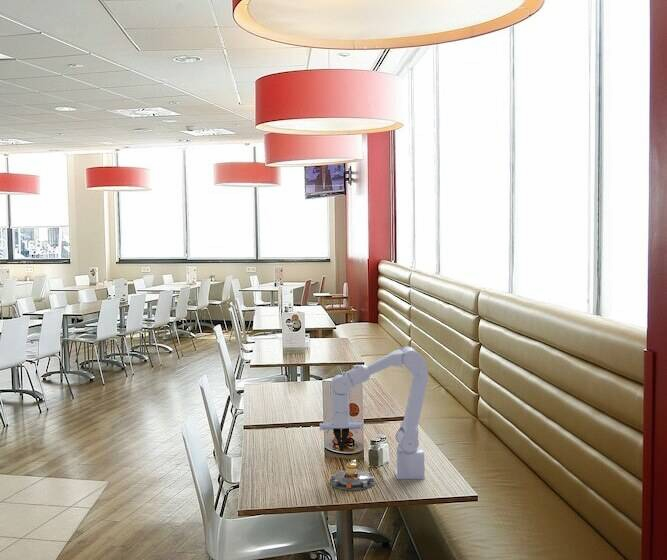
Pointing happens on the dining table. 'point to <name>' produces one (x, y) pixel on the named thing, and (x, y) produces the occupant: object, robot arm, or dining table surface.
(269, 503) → the dining table surface
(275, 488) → the dining table surface
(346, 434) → the robot arm
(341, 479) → the grey toothed wheel
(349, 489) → the base flange
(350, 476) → the roller
